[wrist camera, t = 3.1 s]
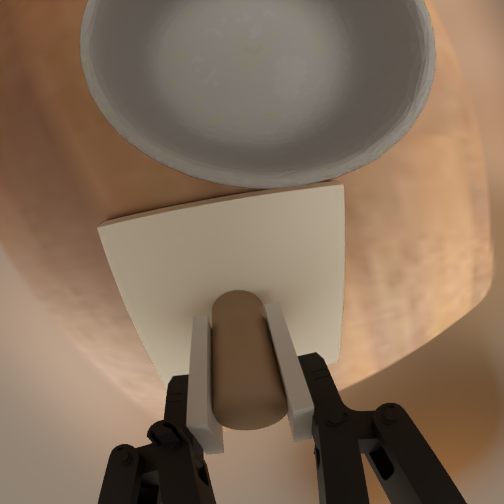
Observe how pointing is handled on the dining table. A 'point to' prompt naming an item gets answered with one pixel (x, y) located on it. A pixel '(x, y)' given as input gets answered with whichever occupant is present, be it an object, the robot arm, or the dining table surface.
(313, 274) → the lid
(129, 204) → the dining table surface
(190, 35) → the teacup
